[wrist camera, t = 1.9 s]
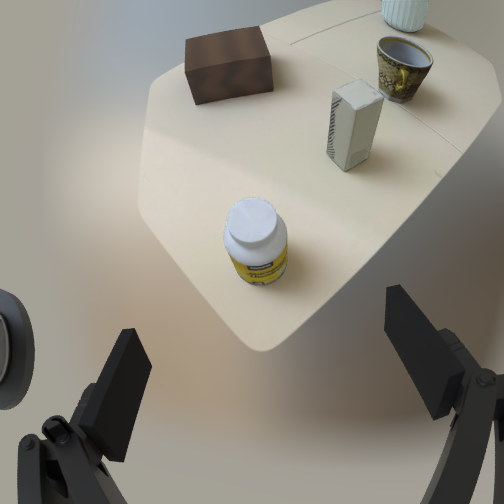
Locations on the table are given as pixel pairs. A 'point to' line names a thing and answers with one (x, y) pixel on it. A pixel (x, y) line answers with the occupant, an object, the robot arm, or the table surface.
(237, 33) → the wooden block
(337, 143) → the box
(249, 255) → the pill bottle
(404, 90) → the ceramic cup
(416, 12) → the vase
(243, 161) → the table surface
